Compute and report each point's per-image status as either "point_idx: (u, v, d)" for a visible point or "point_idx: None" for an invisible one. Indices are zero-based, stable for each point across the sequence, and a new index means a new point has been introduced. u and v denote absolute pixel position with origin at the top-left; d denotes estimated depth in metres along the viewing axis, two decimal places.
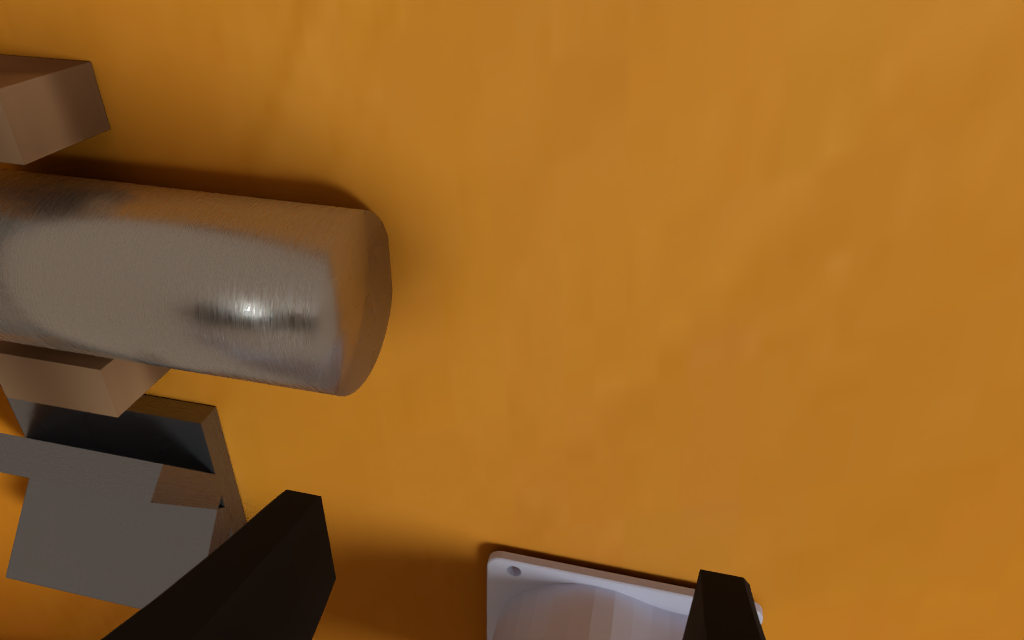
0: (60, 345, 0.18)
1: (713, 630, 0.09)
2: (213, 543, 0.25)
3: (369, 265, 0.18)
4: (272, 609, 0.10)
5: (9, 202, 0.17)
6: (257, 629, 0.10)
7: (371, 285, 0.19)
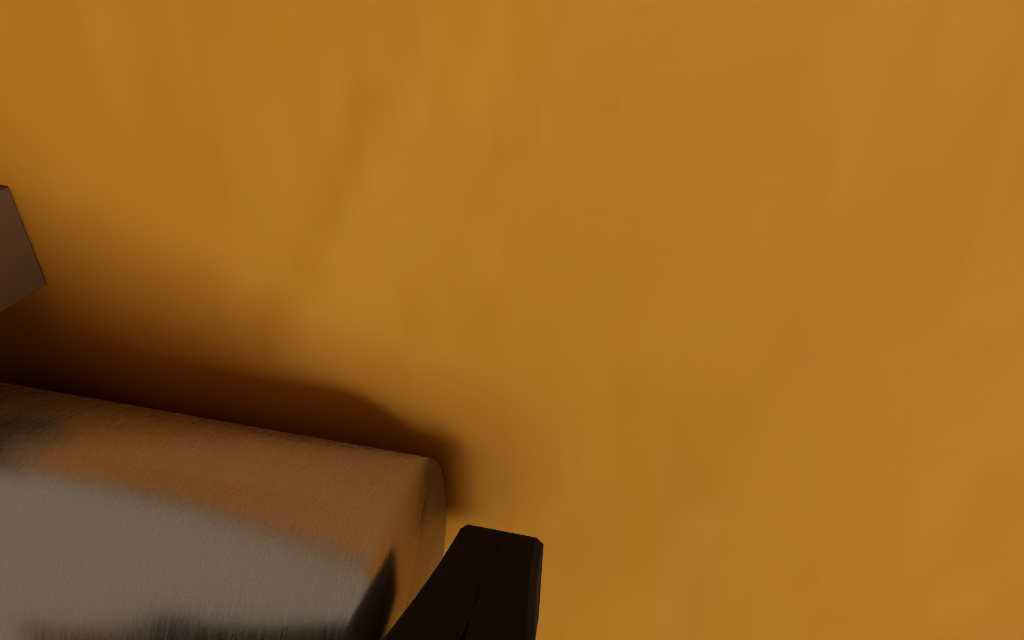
0: None
1: (485, 583, 0.09)
2: None
3: (414, 538, 0.11)
4: None
5: None
6: None
7: (417, 559, 0.11)
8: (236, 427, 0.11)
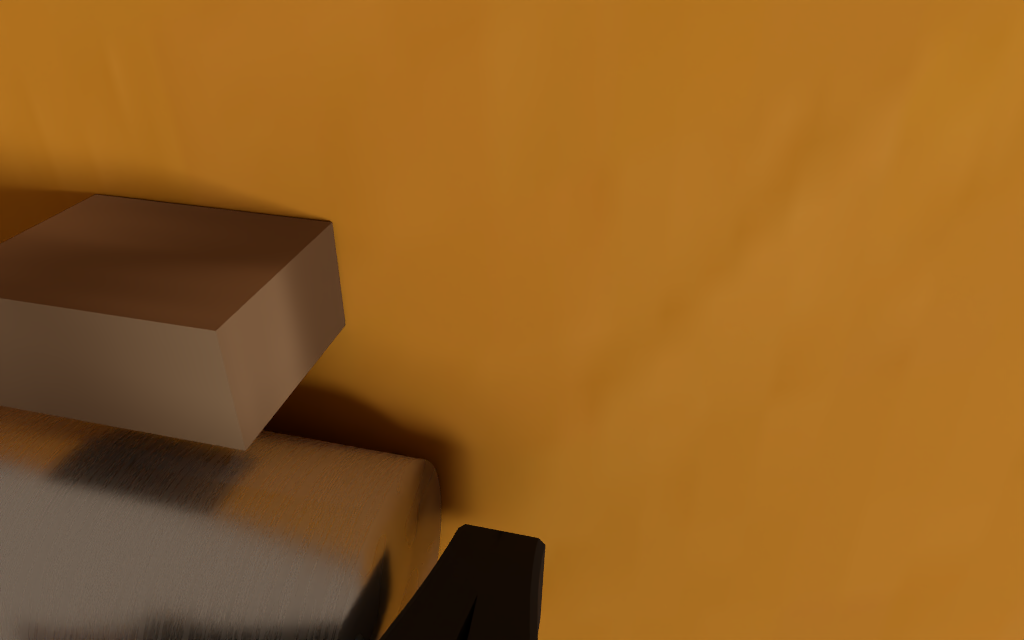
0: None
1: (487, 583, 0.09)
2: None
3: (408, 540, 0.11)
4: None
5: None
6: None
7: (411, 561, 0.11)
8: None
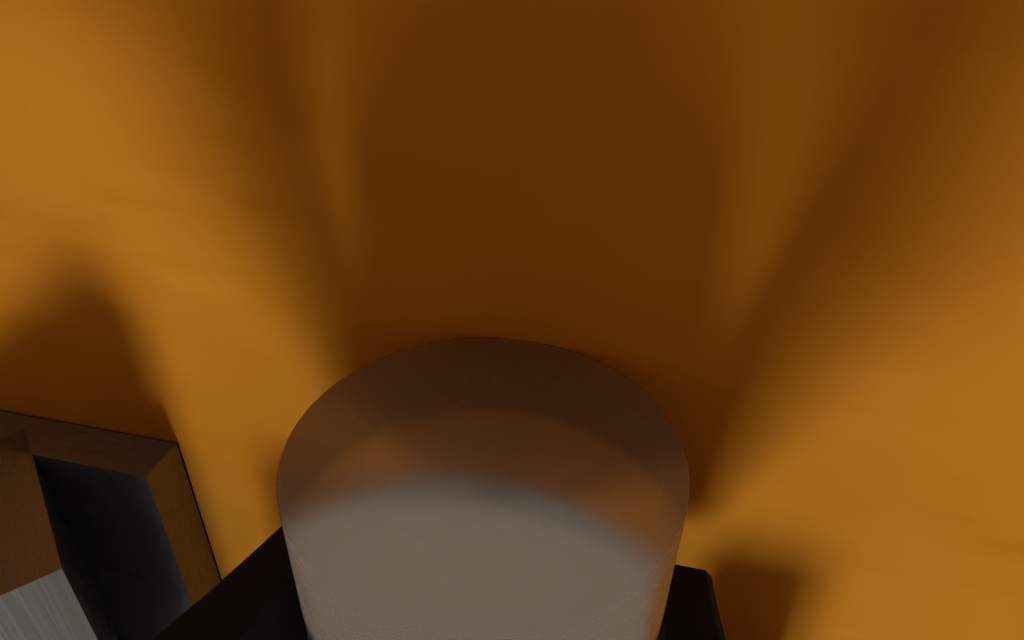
0: None
1: (671, 621, 0.09)
2: None
3: None
4: None
5: None
6: (291, 637, 0.10)
7: None
8: None
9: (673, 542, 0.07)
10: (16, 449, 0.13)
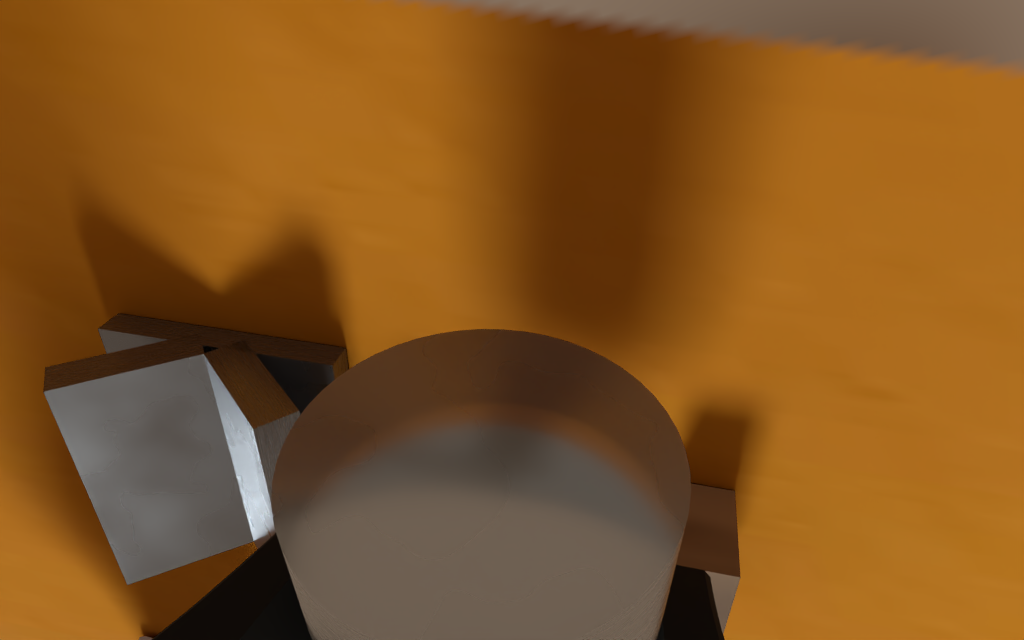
0: None
1: (670, 621, 0.09)
2: None
3: None
4: None
5: None
6: (292, 637, 0.10)
7: None
8: None
9: (670, 558, 0.07)
10: (243, 350, 0.20)
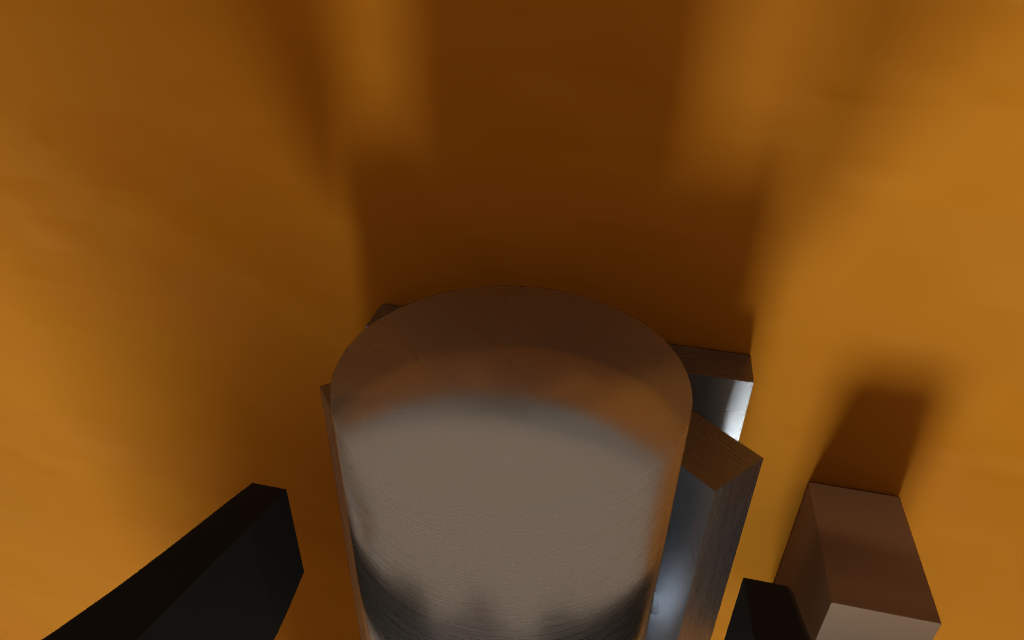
0: None
1: None
2: None
3: None
4: (234, 600, 0.10)
5: (643, 615, 0.10)
6: (218, 620, 0.10)
7: None
8: None
9: (675, 447, 0.08)
10: None
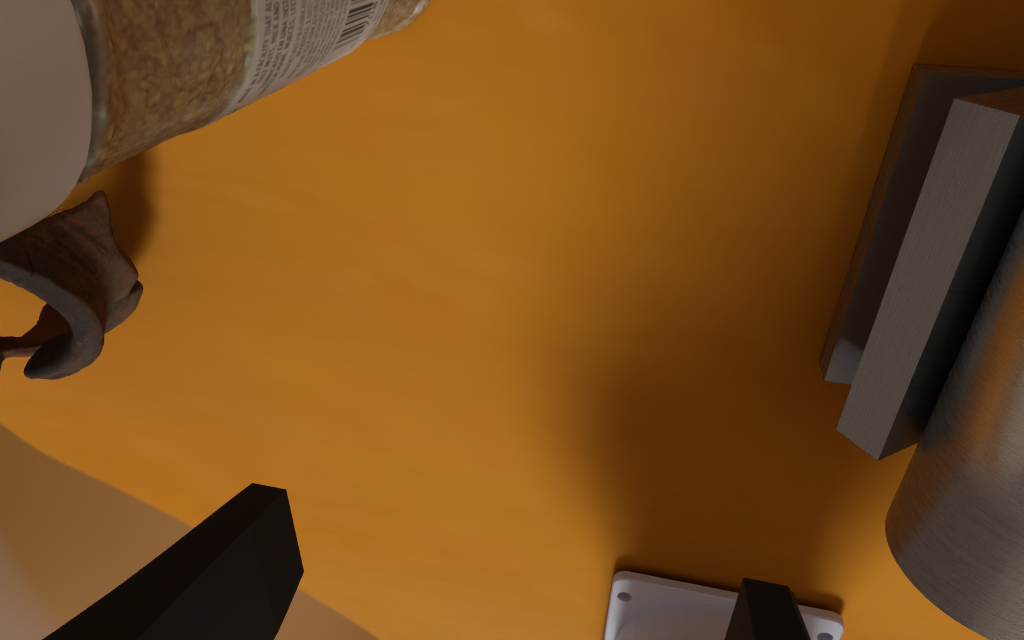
0: None
1: None
2: None
3: None
4: (234, 600, 0.10)
5: None
6: (218, 620, 0.10)
7: None
8: None
9: None
10: None
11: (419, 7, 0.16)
